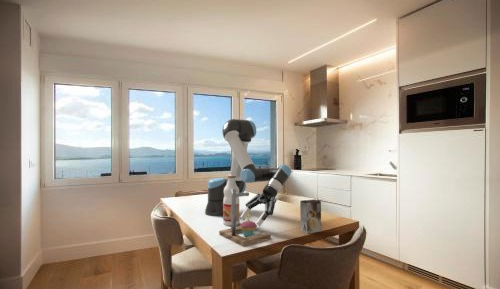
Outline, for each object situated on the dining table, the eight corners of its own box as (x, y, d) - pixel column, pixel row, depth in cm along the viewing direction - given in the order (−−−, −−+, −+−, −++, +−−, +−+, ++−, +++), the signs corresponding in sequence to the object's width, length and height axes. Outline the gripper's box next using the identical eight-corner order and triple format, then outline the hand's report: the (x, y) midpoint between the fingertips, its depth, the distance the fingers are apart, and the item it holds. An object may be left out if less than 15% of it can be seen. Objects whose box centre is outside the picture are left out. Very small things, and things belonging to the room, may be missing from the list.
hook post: (230, 234, 131) (230, 189, 131) (247, 231, 137) (247, 187, 137) (233, 236, 129) (233, 189, 130) (249, 232, 135) (250, 188, 136)
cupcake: (239, 232, 140) (239, 209, 140) (256, 232, 141) (256, 209, 141) (240, 238, 132) (240, 214, 132) (257, 238, 132) (257, 213, 132)
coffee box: (314, 228, 149) (314, 199, 149) (321, 231, 143) (321, 201, 143) (300, 230, 145) (300, 200, 145) (307, 233, 139) (307, 202, 139)
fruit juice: (239, 226, 153) (239, 176, 153) (222, 226, 153) (222, 176, 153) (239, 221, 162) (239, 174, 162) (224, 221, 162) (224, 174, 163)
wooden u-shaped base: (219, 234, 137) (219, 230, 137) (246, 228, 148) (246, 225, 148) (242, 246, 122) (242, 241, 122) (270, 238, 132) (270, 234, 132)
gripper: (292, 197, 137) (270, 232, 128) (261, 190, 157) (240, 220, 148) (284, 187, 134) (261, 223, 125) (254, 182, 154) (231, 212, 145)
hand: (249, 221), depth 137 cm, fingers open, 13 cm apart
